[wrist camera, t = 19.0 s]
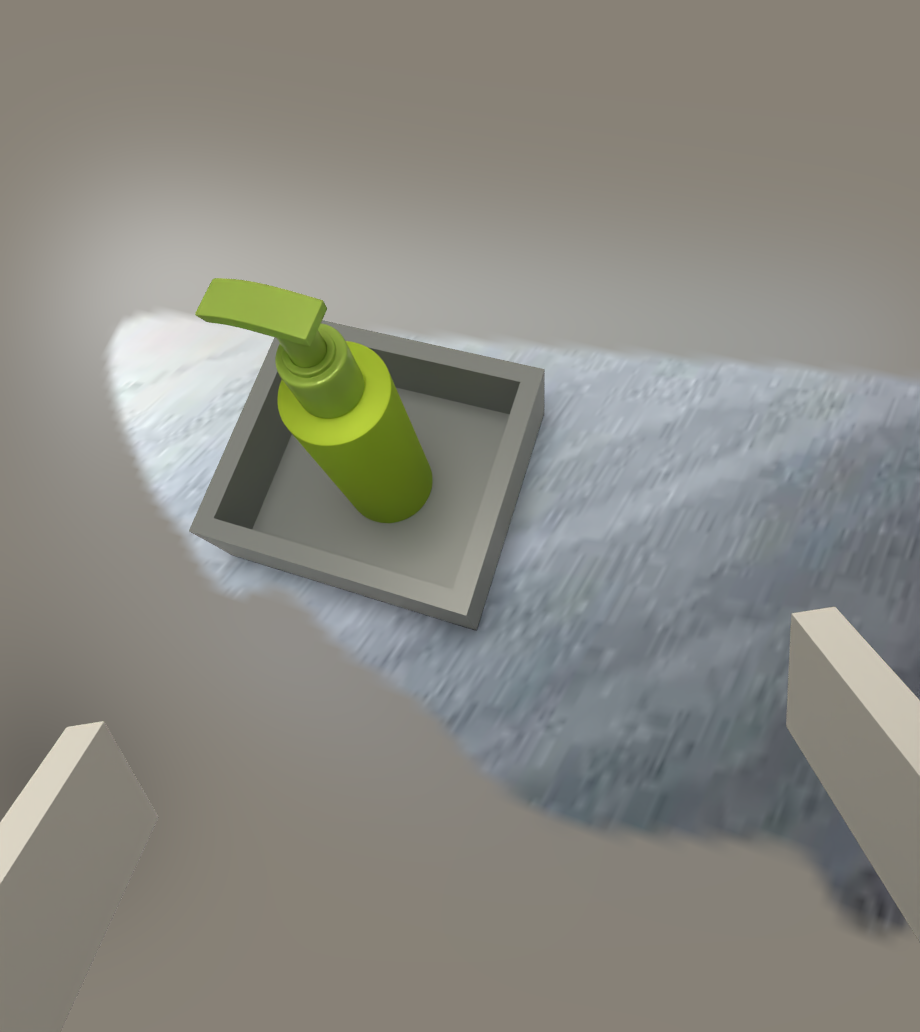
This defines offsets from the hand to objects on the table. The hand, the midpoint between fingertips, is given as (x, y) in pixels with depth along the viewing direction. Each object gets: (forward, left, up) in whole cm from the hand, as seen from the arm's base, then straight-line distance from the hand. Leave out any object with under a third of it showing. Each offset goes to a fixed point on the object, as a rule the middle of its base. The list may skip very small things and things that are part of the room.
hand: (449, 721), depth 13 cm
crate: (+13, -13, -30) cm, 35 cm away
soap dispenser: (+13, -13, -29) cm, 34 cm away
